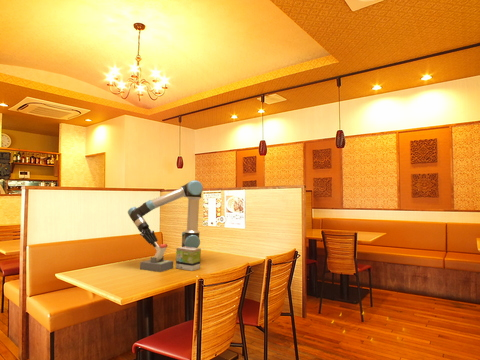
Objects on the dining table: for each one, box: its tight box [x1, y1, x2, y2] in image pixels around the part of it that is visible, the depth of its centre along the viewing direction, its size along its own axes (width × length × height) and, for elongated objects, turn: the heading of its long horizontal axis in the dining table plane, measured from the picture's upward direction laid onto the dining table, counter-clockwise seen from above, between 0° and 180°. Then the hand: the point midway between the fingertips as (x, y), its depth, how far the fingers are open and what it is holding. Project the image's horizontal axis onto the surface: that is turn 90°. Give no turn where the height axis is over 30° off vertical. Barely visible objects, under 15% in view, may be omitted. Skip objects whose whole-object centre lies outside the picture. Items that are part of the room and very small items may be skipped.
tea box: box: [175, 246, 202, 272], centre depth 219 cm, size 15×10×15 cm, turn 62°
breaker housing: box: [139, 255, 174, 273], centre depth 217 cm, size 18×14×8 cm
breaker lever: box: [153, 243, 168, 261], centre depth 216 cm, size 3×6×13 cm, turn 154°
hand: (158, 250), depth 216 cm, fingers closed
